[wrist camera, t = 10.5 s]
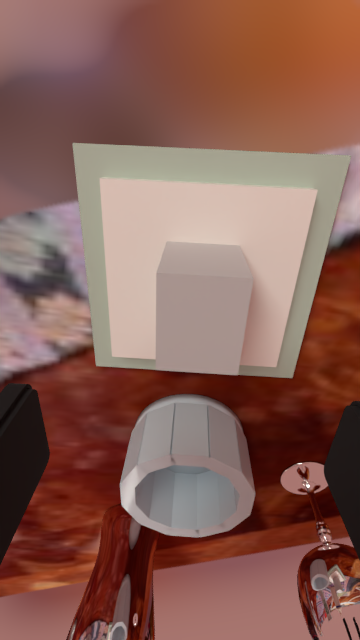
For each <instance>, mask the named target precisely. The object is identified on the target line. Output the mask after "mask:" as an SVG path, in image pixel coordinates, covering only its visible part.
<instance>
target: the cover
mask: <svg viewBox="0 0 360 640" xmlns="http://www.w3.org/2000/svg"><path fill="white" fill-rule="evenodd" d="M99 179H100V194H101V208H102V222H103V236H104V250H105V265H106V279H107V293H108V307H109V321H110V336H111V350H112V357H125V358H140V359H156V369H155V370H164V371H179V372H194V373H209V374H225V375H238V370H239V365H248V366H263V367H276V366H277V362H278V358H279V353H280V349H281V345H282V341H283V336H284V332H285V328H286V323H287V319H288V315H289V311H290V306H291V302H292V298H293V294H294V289H295V285H296V281H297V277H298V272H299V268H300V264H301V259H302V255H303V251H304V247H305V242H306V238H307V234H308V230H309V225H310V221H311V217H312V213H313V208H314V204H315V200H316V195H317V191H318V190H316V189H313V188H299V187H280V186H261V185H242V184H223V183H204V182H185V181H166V180H148V179H129V178H110V177H103V178H99Z"/></svg>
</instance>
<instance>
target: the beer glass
mask: <svg viewBox="0 0 360 640" xmlns="http://www.w3.org/2000/svg"><path fill="white" fill-rule="evenodd" d="M159 536H160V532H158V531H156V530H153V529H151V528H148V527H146V526H143V525H141V524H140V523H138V522H137V521H136V520H135V519H134V518H133V517H132V516H131V515H130V514H129V513H128V512H127V511H126V510H125V509H124V508H123V507H122V505H117V506H114V507H112V508H110V509H108V510H107V511H106V512H105V514H104V516H103V519H102V527H101V540H100V547H99V552H98V556H97V560H96V563H95V566H94V569H93V572H92V574H91V577H90V579H89V582H88V584H87V587H86V589H85V592H84V594H83V597H82V599H81V602H80V604H79V607H78V609H77V612H76V614H75V617H74V619H73V622H72V625H71V628H70V631H69V634H68V636H67V639H66V640H155V625H154V598H153V564H154V557H155V551H156V547H157V543H158V540H159Z"/></svg>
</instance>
